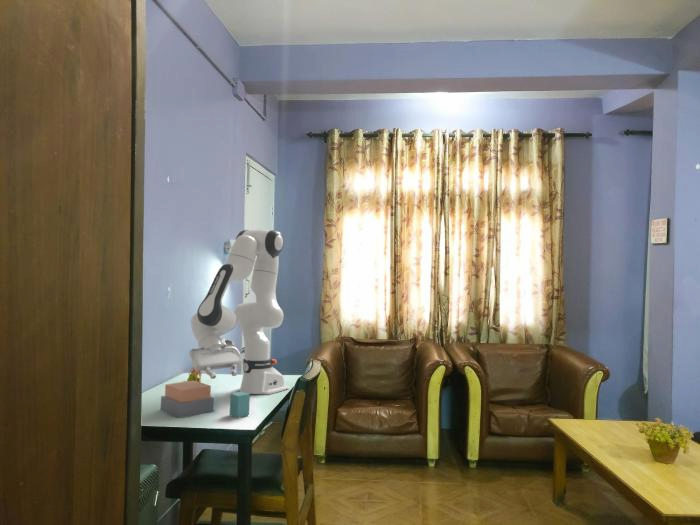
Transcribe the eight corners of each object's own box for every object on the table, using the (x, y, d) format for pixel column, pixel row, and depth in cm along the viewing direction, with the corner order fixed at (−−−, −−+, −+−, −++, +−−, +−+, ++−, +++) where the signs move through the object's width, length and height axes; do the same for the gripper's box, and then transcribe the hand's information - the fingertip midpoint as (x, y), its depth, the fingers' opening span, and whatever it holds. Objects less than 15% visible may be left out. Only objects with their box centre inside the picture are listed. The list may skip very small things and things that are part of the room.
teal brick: (241, 413, 197) (241, 391, 197) (248, 415, 193) (249, 394, 194) (229, 415, 193) (230, 393, 193) (237, 418, 190) (238, 396, 190)
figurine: (186, 392, 225) (187, 364, 226) (189, 389, 231) (190, 362, 232) (206, 392, 226) (207, 365, 226) (208, 389, 232) (209, 362, 232)
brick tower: (194, 403, 208) (195, 379, 208) (213, 411, 198) (214, 385, 198) (160, 409, 198) (161, 384, 198) (179, 417, 188) (180, 391, 188)
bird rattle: (186, 385, 247) (187, 381, 240) (187, 362, 252) (187, 357, 244) (200, 385, 249) (201, 381, 242) (200, 362, 254) (201, 357, 246)
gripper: (191, 344, 198) (203, 374, 191) (237, 341, 213) (250, 368, 206) (184, 354, 201) (196, 384, 194) (230, 350, 216) (243, 378, 209)
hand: (224, 376), depth 200 cm, fingers open, 8 cm apart
